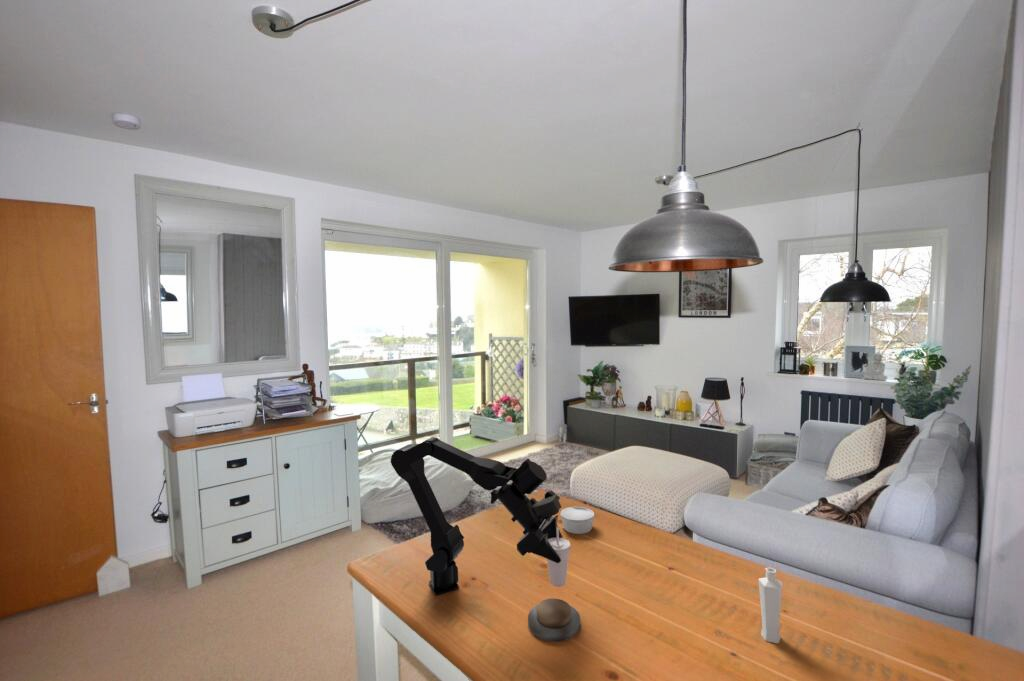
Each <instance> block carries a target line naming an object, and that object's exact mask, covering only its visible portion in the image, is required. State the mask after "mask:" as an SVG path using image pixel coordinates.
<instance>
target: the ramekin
mask: <svg viewBox="0 0 1024 681" xmlns="http://www.w3.org/2000/svg"><path fill="white" fill-rule="evenodd" d="M560 518H561V523H562V527H563V529H564V531H565V532H568V533H570V534H573V535H583V534H584V535H585V534H588V533H589V532H591V530H592V529H593V524H594V519H595V512H594V511H593V510H592V509H590V508H587V507H583V506H570V507H569V506H568V507H565V508H563V509H562V510H561V511H560Z"/></svg>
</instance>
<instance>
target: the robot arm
mask: <svg viewBox="0 0 1024 681" xmlns="http://www.w3.org/2000/svg"><path fill="white" fill-rule="evenodd" d="M427 456H429V457H431V458H434V459H436V460H438V461H440V462H442V463H444V464H446V465H449V466H450V467H452V468H454V469H456V470H459V471H460V472H462V473H464V474H466V475H468V476H469V477H470V478H471V480H472V481H473V482H474V483H475V484H476V485H477V486H479V487H481V488H482V489H483V490H486V491H491V492H490V504H491V505H493V504H495V503H496V502H497V500H498V501H499V502H500V503H501V504H502V505H503V507H504V508H505V509H506V510H507V512H508V513H510V514H511V516H512V517H511V518H510V520H511V521H512V523H515V522H516V521H517V523H518V524H519V525H520V526H521V527H522V528H523V531H522V534H523V535H522V537H521V538H520V539H519V540H518V542H517V544H516V550H517V552H518V553H519V554H520V555H521V556H522V557H524V556H525V555H526V554H534V555H537V556H539V557H542V558H545V559H549V560H551V561H553V562H556V563H559V562H561V559H560V557H559V556H558V554H557V553H556V551H555V550H554V549H553V547H552V546H551V545H550V543H549V542H548V539H550V538H557V535H556V527H559V526H558V518H559V515H558V514H559V512H560V509H561V508H562V505H561V502H560V501H559V500H560V498H561V497H560V496H558V495H557V493H555V492H554V491H553V490H552V489H550V490H548V491H546V492H545V493H544V497H543V498H541V500H538V501H537V499H536V498H534V497H531V498H529V497H528V496H527V495H531V494H532V493H534V492H535V490H537V489H538V488H539V487H540V486H542V484H543V483H544V482H546V480H547V479H548V476H547V473H546V471H545V469H544V468H543V467H542V466H541V464H540V465H539V464H538V463H536V462H534V461H531V460H530V458H525V460H523V462H522V463H521V464H520V466H519V467H517V468H516V467H513V466H508V465H505V464H504V463H503V462H502V461H500V460H496V459H491V458H487V457H477V456H475V455H473V454H471V453H469V452H466V451H464V450H462V449H460V448H457V447H455V446H453V445H451V444H449V443H447V442H444V441H442V440H441V439H439V438H438V437H436V436H431V437H430V438H427V439H426V440H423V441H422V442H420V443H418V444H414V443H410V444H406V445H404V446H403V447H401V448H399V449H396V450H394V451H393V453H392V454H391V458H390V465H391V467H392V469H393V470H394V471H395V473H396V474H397V475H398V477H400V478H401V479H403V481H405V482H406V483H407V484H408V486H409V489H410V491H411V492H412V495H413V497H414V500H415V501H416V503H417V505H418V508H419V510H420V512H421V515H422V516H423V518H424V522H425V523H426V525H427V527H428V530H429V531H430V547H431V551H432V555H431V556H430V557H429V558H427V560H426V561H424V564H425V567H426V570H427V571H429V573H430V576H429V577H430V580H429V581H428V584H429V586H430V588H431V590H432V592H433V593H434V595H435V596H437V595H440V594H444V593H448V592H451V591H454V590H458V589H460V586H459V584H458V583H459V568H458V566H457V562H456V559H457V558H458V556H459V555H460V554H461V552H462V551H463V550H464V546H465V541H464V539H465V536H464V535H463V534H462V532H461V530H460V527H459V525H458V524H455V525H454V526H453V525H452V524H450V523H449V522H448V521H447V519H446V517H445V514H444V512H443V511H442V510H443V509H442V508H441V505H440V503H439V502H438V500H437V497H436V496H435V492H434V491H433V489H432V487H431V484H430V483H429V481H428V478H427V477H426V474H425V457H427ZM510 481H511V483H510V484H509V482H510ZM498 487H499V488H498ZM497 488H498V489H497ZM559 538H564V537H563V535H562V533H561V531H560V529H559Z"/></svg>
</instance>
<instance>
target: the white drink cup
mask: <svg viewBox="0 0 1024 681" xmlns="http://www.w3.org/2000/svg"><path fill="white" fill-rule="evenodd" d="M559 530H560V527H559V526H558V527H556V535H557V538H550V539H548V542H549V543H550V545H551V546H552V547H553V549H554V550H555V551H556V553H557V554H558V556H559V557H560V559H561V562H559V563H556V562H553V561H551V560H549V559H547V558H546V559H547V568H548V573H549V574H548V575H549V582H550V584H551V585H552V586H554V587H559V588H560V587H563V586H565V585H566V582H567V575H568V574H567V573H568V563H569V558H570V556H569V555H570V550H571V548H572V547H571V541H569V540H568V539H566V538H564V537H563V538H559Z"/></svg>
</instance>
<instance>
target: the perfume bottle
mask: <svg viewBox="0 0 1024 681" xmlns="http://www.w3.org/2000/svg"><path fill="white" fill-rule="evenodd" d="M764 570H765V577H760V578H758V589H759V600H760V611H761V612H760V613H761V623H762V624H761V625H762V628H761V630H760V635H761V637H762V638H763V639H764V641H766V642H768V643H775V644H780V641H781V634H780V618H781V608H782V607H781V606H782V595H783V594H782V593H783V582H782V581H781V580H779V579H777V575H776V573H777V569H775V568H772V567H765V568H764Z"/></svg>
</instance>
